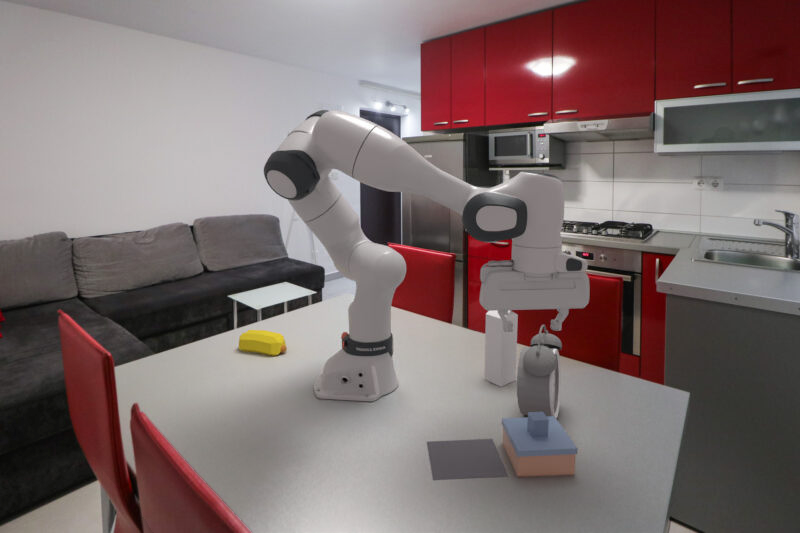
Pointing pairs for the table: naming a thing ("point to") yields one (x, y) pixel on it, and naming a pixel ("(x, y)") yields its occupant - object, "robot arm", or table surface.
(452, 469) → the mat
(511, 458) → the dish
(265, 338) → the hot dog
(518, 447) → the lid
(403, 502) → the table surface
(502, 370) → the milk
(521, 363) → the alarm clock
